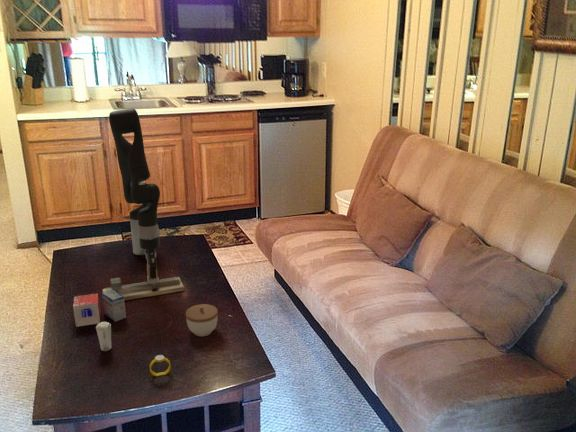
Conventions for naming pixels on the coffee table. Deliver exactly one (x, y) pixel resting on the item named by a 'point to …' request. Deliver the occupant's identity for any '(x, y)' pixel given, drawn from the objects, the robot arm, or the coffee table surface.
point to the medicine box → (113, 305)
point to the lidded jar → (202, 319)
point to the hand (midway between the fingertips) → (152, 275)
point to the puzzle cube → (86, 309)
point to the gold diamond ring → (160, 359)
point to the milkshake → (104, 335)
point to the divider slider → (154, 280)
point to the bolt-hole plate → (149, 293)
